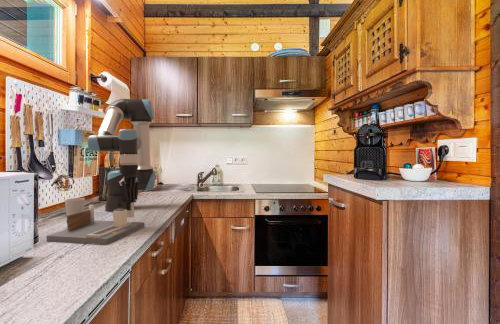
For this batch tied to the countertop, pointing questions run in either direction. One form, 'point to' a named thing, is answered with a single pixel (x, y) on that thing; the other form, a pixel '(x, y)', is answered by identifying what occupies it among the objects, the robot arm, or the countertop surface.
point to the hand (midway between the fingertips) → (130, 217)
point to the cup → (74, 205)
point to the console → (95, 231)
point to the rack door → (78, 219)
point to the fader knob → (119, 217)
